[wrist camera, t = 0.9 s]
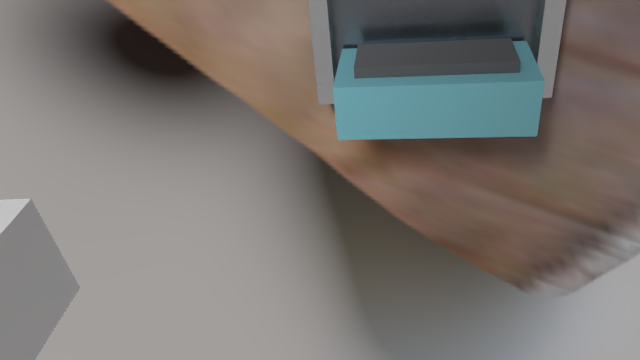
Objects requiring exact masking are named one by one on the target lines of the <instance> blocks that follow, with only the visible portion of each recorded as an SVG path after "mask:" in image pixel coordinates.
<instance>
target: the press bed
mask: <svg viewBox="0 0 640 360" xmlns="http://www.w3.org/2000/svg"><path fill="white" fill-rule="evenodd" d="M308 7H309V16H310V25H311V35H312V44H313V53H314V63H315V72H316V81H317V90H318V100H319V104H334V96H333V85H334V81H335V77H336V72H337V68H338V64H339V60H340V55H341V51H342V49H351V48H357V47H358V45H363V44H385V43H408V42H430V41H453V40H475V39H497V38H511V39H512V41H527V43H528V45H529V47H530V49H531V52H532V54H533V56H534V58H535V60H536V63H537V65H538V67H539V69H540V71H541V74H542V76H543V78H544V80H545V84H544V91H543V98H552V93H553V86H554V79H555V73H556V66H557V60H558V53H559V46H560V40H561V33H562V26H563V20H564V13H565V7H566V0H308Z"/></svg>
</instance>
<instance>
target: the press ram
mask: <svg viewBox="0 0 640 360" xmlns="http://www.w3.org/2000/svg"><path fill="white" fill-rule="evenodd" d="M544 84H545V80H544V78H543V76H542V74H541V71H540V69H539V67H538V65H537V63H536V60H535V58H534V56H533V54H532V52H531V49H530V47H529V45H528V43H527V41H512V39H511V38H497V39H475V40H453V41H430V42H408V43H385V44H363V45H358V47H357V48H351V49H342V51H341V55H340V60H339V64H338V68H337V72H336V77H335V81H334V85H333V96H334V107H335V118H336V129H337V140H368V139H422V138H476V137H531V136H537V134H538V127H539V119H540V112H541V105H542V98H543V91H544Z"/></svg>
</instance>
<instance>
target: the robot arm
mask: <svg viewBox="0 0 640 360" xmlns="http://www.w3.org/2000/svg"><path fill="white" fill-rule="evenodd" d="M79 288H80V287H79V285H78V283H77V281H76V279H75V277H74V276H73V274H72V272H71V270H70V268H69V267H68V265H67V263H66V261H65V259H64V257H63V256H62V254H61V252H60V250H59V248H58V247H57V245H56V243H55V241H54V239H53V238H52V236H51V234H50V232H49V230H48V228H47V227H46V225H45V223H44V221H43V219H42V218H41V216H40V214H39V212H38V210H37V209H36V207H35V205H34V203H33V201H32V200H31V199H11V200H0V360H35V359H36V357H37V355H38V354H39V352H40V351H41V349H42V347H43V346H44V344H45V343H46V341H47V339H48V337H49V336H50V335H51V333H52V331H53V330H54V328H55V327H56V325H57V324H58V322H59V320H60V319H61V317H62V316H63V313H64V312H65V311H66V309H67V307H68V306H69V304H70V303H71V301H72V300H73V298H74V296H75V295H76V293H77V292H78V290H79Z"/></svg>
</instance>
